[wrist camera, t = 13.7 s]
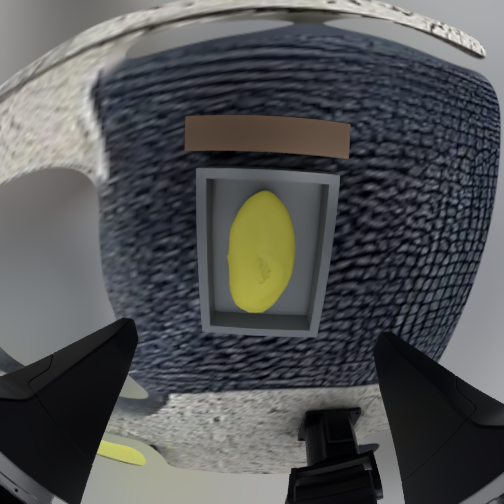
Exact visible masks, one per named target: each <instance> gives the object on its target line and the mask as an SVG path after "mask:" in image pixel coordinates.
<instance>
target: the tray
mask: <svg viewBox="0 0 504 504" xmlns="http://www.w3.org/2000/svg"><path fill="white" fill-rule="evenodd" d="M339 184H340V175H338V174H335V173H332V172H327V171H316V170H304V169H291V168H274V167H252V166H202V167H199V168H196V223H197V254H198V275H199V292H200V308H201V321H202V331H203V332H214V333H226V334H240V335H257V336H281V337H317V333H318V328H319V323H320V318H321V313H322V308H323V302H324V297H325V291H326V285H327V279H328V273H329V267H330V260H331V253H332V246H333V239H334V231H335V223H336V214H337V205H338V195H339ZM264 190H267V191H270V192H272V193H273V194H275V195H276V196H277V197H278V198H279V199H280V200H281V201H282V203H283V204H284V205H285V207H286V208H287V210H288V213H289V215H290V218H291V221H292V225H293V229H294V234H295V260H294V266H293V273H292V275H291V278H290V280H289V283H288V285H287V287H286V288H285V290H284V291H283V293H282V294H281V295H280V297H279V298H278V300H277V301H276V302H275V303H274V304H273V305H272V306H271V307H270V308H269V309H267V310H265V311H264V312H262V313H261V312H259V313H249V312H247V311H245V310H243V309H241V308H239V307H238V306H237V305H236V304H235V302H234V300H233V298H232V295H231V292H230V287H229V264H228V259H227V255H228V251H229V235H230V228H231V225H232V223H233V221H234V219H235V217H236V215H237V213H238V212H239V210H240V208H241V207H242V206H243V204H244V203H245V202H246V201H247V200H248V199H249V198H250V197H251V196H253V195H254V194H256V193H258V192H260V191H264Z"/></svg>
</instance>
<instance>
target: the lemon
mask: <svg viewBox="0 0 504 504" xmlns="http://www.w3.org/2000/svg"><path fill="white" fill-rule="evenodd" d="M227 259H228V264H229V287H230V292H231V295H232V298H233V300H234V302H235V304H236V305H237V306H238V307H239V308H241V309H243V310H245V311H247V312H249V313H259V312H261V313H262V312H264V311H265V310H267V309H269V308H270V307H271V306H272V305H273V304H274V303H275V302H276V301H277V300H278V298H279V297H280V295H281V294H282V293H283V291H284V290H285V288H286V287H287V285H288V283H289V280H290V278H291V275H292V273H293V266H294V260H295V234H294V229H293V225H292V221H291V218H290V215H289V213H288V210H287V208H286V207H285V205H284V204H283V203H282V201H281V200H280V199H279V198H278V197H277V196H276V195H275V194H273V193H272V192H270V191H267V190H264V191H260V192H258V193H256V194H254V195H253V196H251V197H250V198H249V199H248V200H247V201H246V202H245V203H244V204H243V206H242V207H241V208H240V210H239V212H238V213H237V215H236V217H235V219H234V221H233V223H232V225H231V228H230V235H229V251H228V255H227Z"/></svg>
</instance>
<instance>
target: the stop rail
mask: <svg viewBox="0 0 504 504" xmlns="http://www.w3.org/2000/svg"><path fill="white" fill-rule="evenodd" d="M349 145H350V124H345V123H338V122H331V121H323V120H315V119H305V118H294V117H280V116H260V115H203V116H186V119H185V151H260V152H279V153H294V154H306V155H317V156H326V157H335V158H343V159H349Z"/></svg>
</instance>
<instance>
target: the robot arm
mask: <svg viewBox="0 0 504 504" xmlns="http://www.w3.org/2000/svg"><path fill="white" fill-rule="evenodd" d="M137 343H138V334H137V330H136V326H135V322H134V320H133V319H130V318H121V319H119V320H117V321H115V322H114V323H112V324H110V325H108V326H106V327H104V328H102V329H100V330H98V331H96V332H94V333H92V334H90V335H88V336H86V337H84V338H82V339H80V340H78V341H76V342H74V343H72V344H70V345H68V346H67V347H65V348H63V349H61V350H59V351H57V352H55V353H53V354H51V355H49V356H47V357H45V358H43V359H41V360H39V361H37V362H35V363H32V364H30V365H28V366H25V367H23V368H20V369H18V370H15V371H13V372H10V373H8V374H5V375H3V376H0V504H51V503H52V501H53V498H54V496H55V497H57V498H58V499H60V500H62V501H63V502H65V503H67V504H80V503H81V500H82V496H83V493H84V490H85V487H86V483H87V480H88V477H89V474H90V471H91V468H92V464H93V462H94V459H95V456H96V453H97V451H98V448H99V445H100V442H101V440H102V437H103V434H104V432H105V429H106V426H107V424H108V421H109V419H110V416H111V414H112V411H113V409H114V406H115V404H116V401H117V399H118V396H119V394H120V392H121V389H122V387H123V385H124V382H125V380H126V377H127V375H128V372H129V369H130V366H131V362H132V359H133V356H134V353H135V349H136V346H137ZM374 360H375V365H376V371H377V376H378V382H379V388H380V392H381V395H382V399H383V403H384V406H385V410H386V414H387V418H388V421H389V425H390V430H391V434H392V438H393V442H394V447H395V451H396V456H397V461H398V465H399V470H400V475H401V481H402V488H403V494H404V500H405V504H504V404H503V403H501V402H499V401H497V400H496V399H494V398H492V397H490V396H488V395H487V394H485V393H483V392H481V391H479V390H478V389H476V388H474V387H473V386H471V385H470V384H468V383H467V382H465V381H464V380H462V379H461V378H459V377H458V376H455V374H453V373H452V372H450V371H449V370H447V369H446V368H444V367H443V366H441V365H440V364H438V363H437V362H435V361H434V360H433V359H431V358H430V357H428V356H427V355H425V354H424V353H422V352H421V351H419V350H418V349H416V348H415V347H413V346H412V345H410V344H409V343H407V342H406V341H404V340H403V339H401V338H400V337H398V336H397V335H395V334H394V333H392V332H381V333H380V334H379V336H378V339H377V342H376V345H375V348H374ZM360 414H361V409H360V408H353V409H342V410H327V411H309V412H306V414H305V416H304V419H303V422H302V425H301V428H300V431H299V434H298V441H305V443H306V455H307V466H306V467H300V468H291V474H290V476H289V486H288V494H287V498H286V501H285V504H377V500H380V499H382V498H383V490H382V484H381V479H380V475H379V472H378V468H377V464H376V460H375V457H374V453H373V450H372V449H371V450H367V452H363V453H360V454H359V449H358V445H357V440H356V436H355V431H354V427H353V426H354V425H355V423H356V421H357V419H358V418H359V416H360ZM365 469H367V470H365ZM369 469H370V470H369Z"/></svg>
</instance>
